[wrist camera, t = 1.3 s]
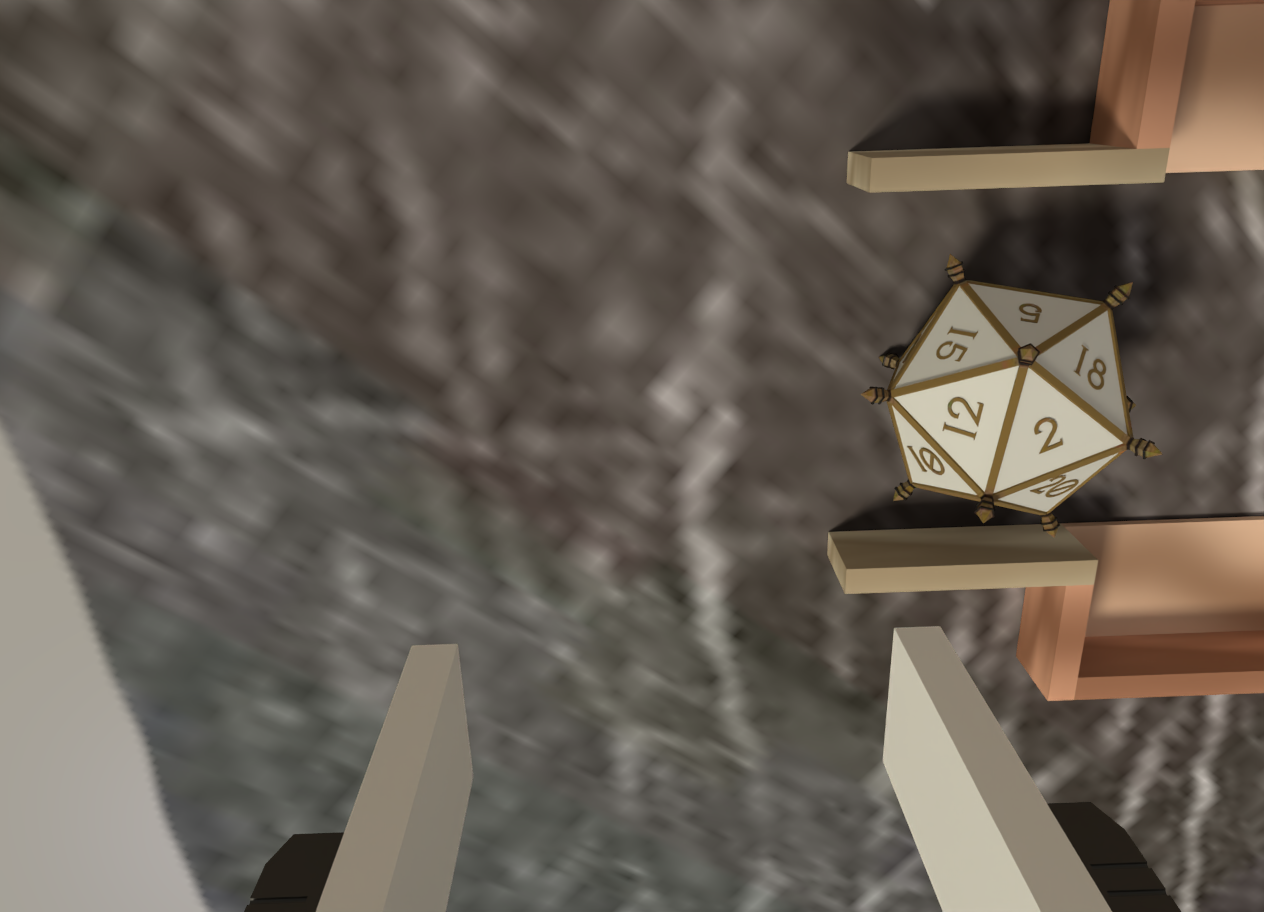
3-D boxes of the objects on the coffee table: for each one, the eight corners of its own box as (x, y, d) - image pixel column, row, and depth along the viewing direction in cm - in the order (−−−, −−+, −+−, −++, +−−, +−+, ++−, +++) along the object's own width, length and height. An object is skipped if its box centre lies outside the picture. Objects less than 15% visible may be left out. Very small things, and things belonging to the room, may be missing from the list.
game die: (978, 323, 37) (1253, 401, 30) (864, 504, 36) (1117, 627, 29) (895, 181, 30) (1219, 238, 23) (755, 397, 30) (1044, 522, 23)
